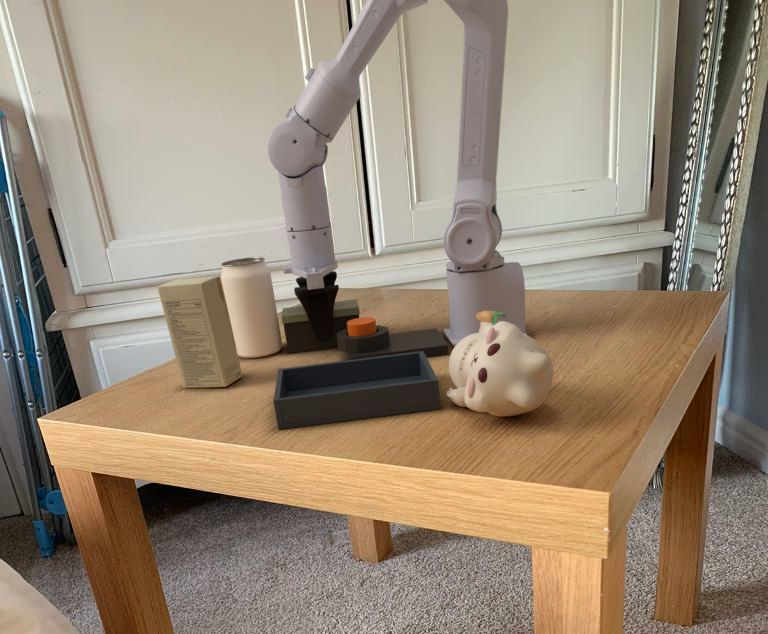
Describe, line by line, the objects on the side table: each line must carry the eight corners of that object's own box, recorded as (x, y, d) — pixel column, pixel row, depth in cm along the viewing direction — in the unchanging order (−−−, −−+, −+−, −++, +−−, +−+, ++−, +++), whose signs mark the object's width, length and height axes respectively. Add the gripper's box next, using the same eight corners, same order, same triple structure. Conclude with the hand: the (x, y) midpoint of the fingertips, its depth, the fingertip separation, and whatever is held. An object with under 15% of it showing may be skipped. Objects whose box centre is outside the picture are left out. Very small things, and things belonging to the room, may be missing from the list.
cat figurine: (452, 299, 75) (526, 305, 62) (517, 329, 79) (600, 341, 65) (417, 389, 77) (481, 414, 63) (481, 414, 80) (555, 444, 67)
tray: (425, 376, 85) (423, 350, 83) (440, 409, 75) (438, 379, 73) (282, 394, 84) (278, 368, 83) (278, 429, 74) (273, 400, 73)
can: (274, 358, 99) (257, 263, 93) (228, 360, 100) (209, 267, 95) (289, 344, 104) (274, 254, 99) (245, 347, 106) (229, 258, 101)
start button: (375, 329, 96) (374, 315, 95) (378, 336, 93) (376, 322, 92) (347, 333, 96) (346, 319, 95) (349, 339, 93) (347, 325, 92)
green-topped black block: (361, 335, 105) (356, 299, 103) (363, 344, 101) (358, 306, 98) (288, 344, 105) (282, 308, 103) (287, 353, 100) (281, 316, 98)
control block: (437, 336, 100) (436, 314, 99) (448, 354, 92) (446, 330, 91) (338, 349, 100) (335, 326, 98) (340, 367, 92) (337, 343, 90)
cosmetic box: (244, 377, 92) (224, 274, 87) (226, 388, 89) (204, 282, 83) (199, 377, 94) (176, 277, 89) (180, 388, 91) (155, 284, 85)
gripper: (279, 225, 102) (295, 325, 108) (275, 238, 89) (293, 351, 95) (331, 219, 102) (344, 319, 109) (334, 231, 90) (348, 344, 96)
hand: (323, 334), depth 102 cm, fingers open, 6 cm apart
